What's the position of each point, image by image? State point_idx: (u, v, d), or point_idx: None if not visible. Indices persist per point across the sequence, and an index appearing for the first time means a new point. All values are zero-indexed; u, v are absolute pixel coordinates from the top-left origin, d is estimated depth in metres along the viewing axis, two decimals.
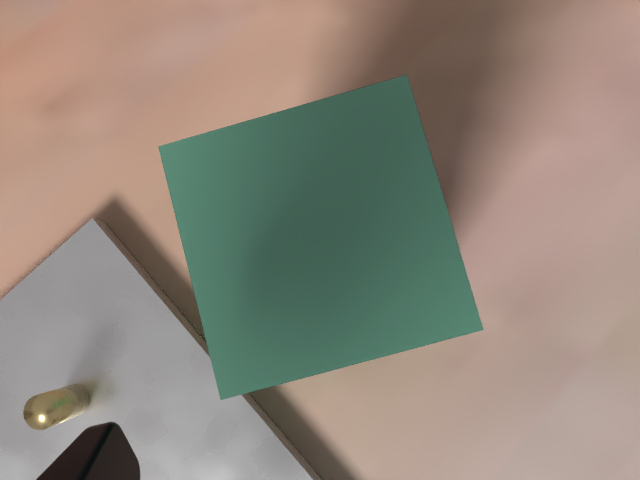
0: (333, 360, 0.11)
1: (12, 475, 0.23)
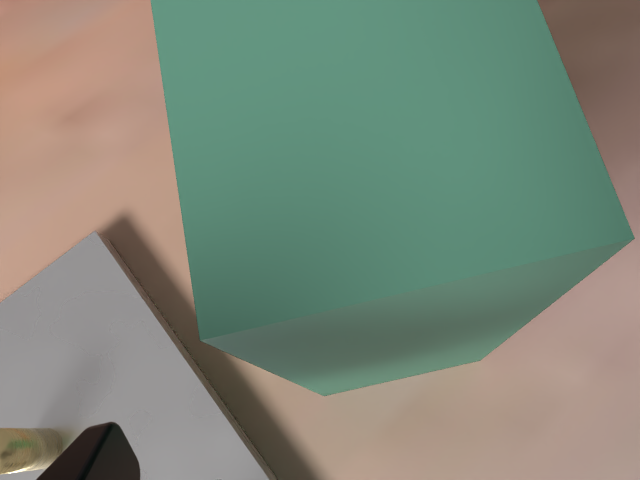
0: (385, 281, 0.07)
1: None
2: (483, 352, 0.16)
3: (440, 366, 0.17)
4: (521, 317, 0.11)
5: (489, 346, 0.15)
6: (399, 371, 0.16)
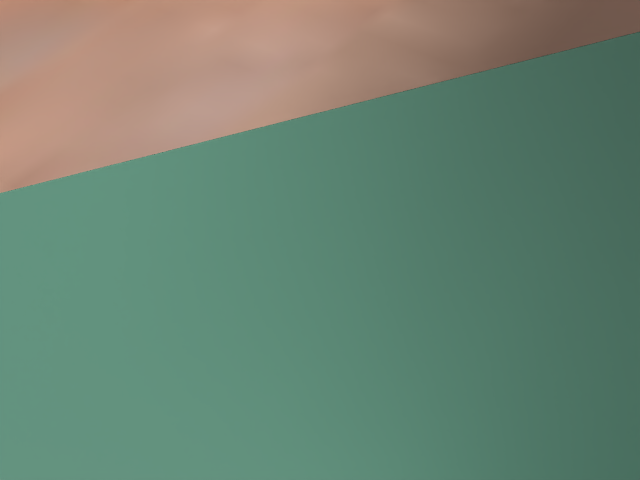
0: None
1: None
2: None
3: None
4: None
5: None
6: None
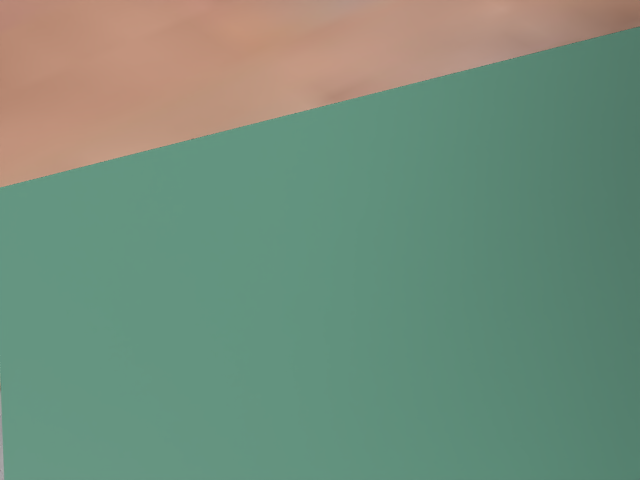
0: None
1: None
2: None
3: None
4: None
5: None
6: None
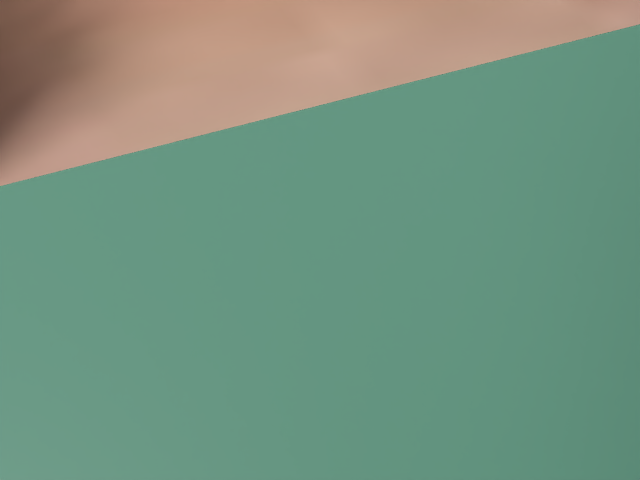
0: None
1: None
2: None
3: None
4: None
5: None
6: None
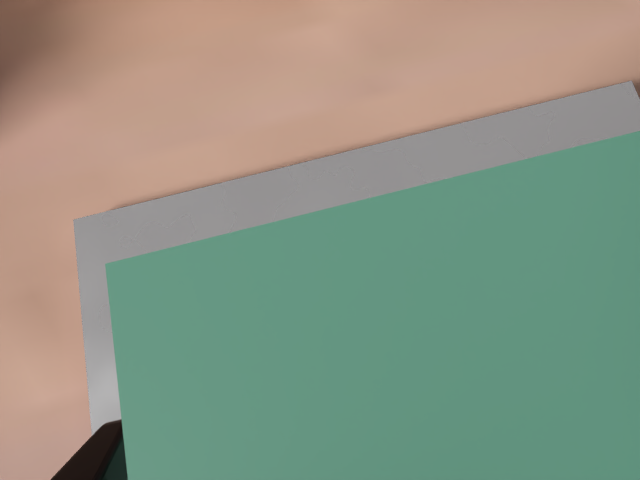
0: None
1: None
2: None
3: None
4: None
5: None
6: None
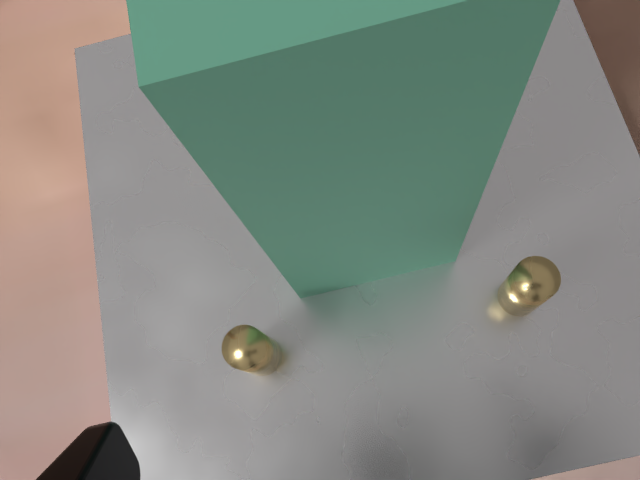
0: (323, 23, 0.07)
1: None
2: (455, 239, 0.16)
3: (414, 261, 0.17)
4: (481, 154, 0.11)
5: (459, 224, 0.15)
6: (372, 259, 0.16)
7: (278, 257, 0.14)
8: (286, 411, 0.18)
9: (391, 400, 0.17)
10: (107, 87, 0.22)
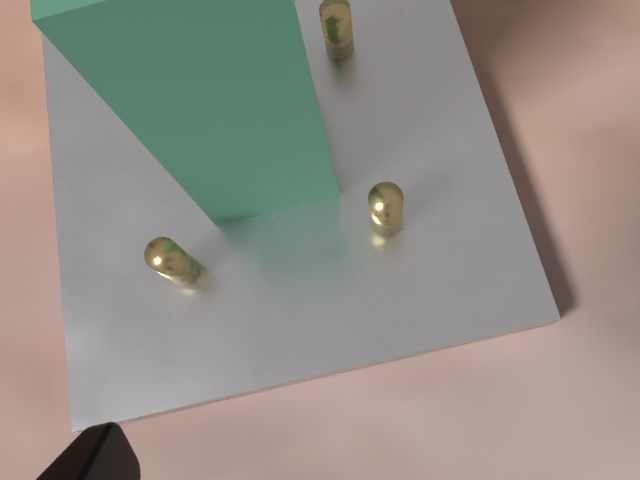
0: None
1: None
2: (326, 169, 0.21)
3: (302, 192, 0.22)
4: (301, 86, 0.15)
5: (320, 154, 0.19)
6: (261, 185, 0.21)
7: (179, 176, 0.19)
8: (201, 312, 0.22)
9: (283, 302, 0.22)
10: (67, 61, 0.26)
